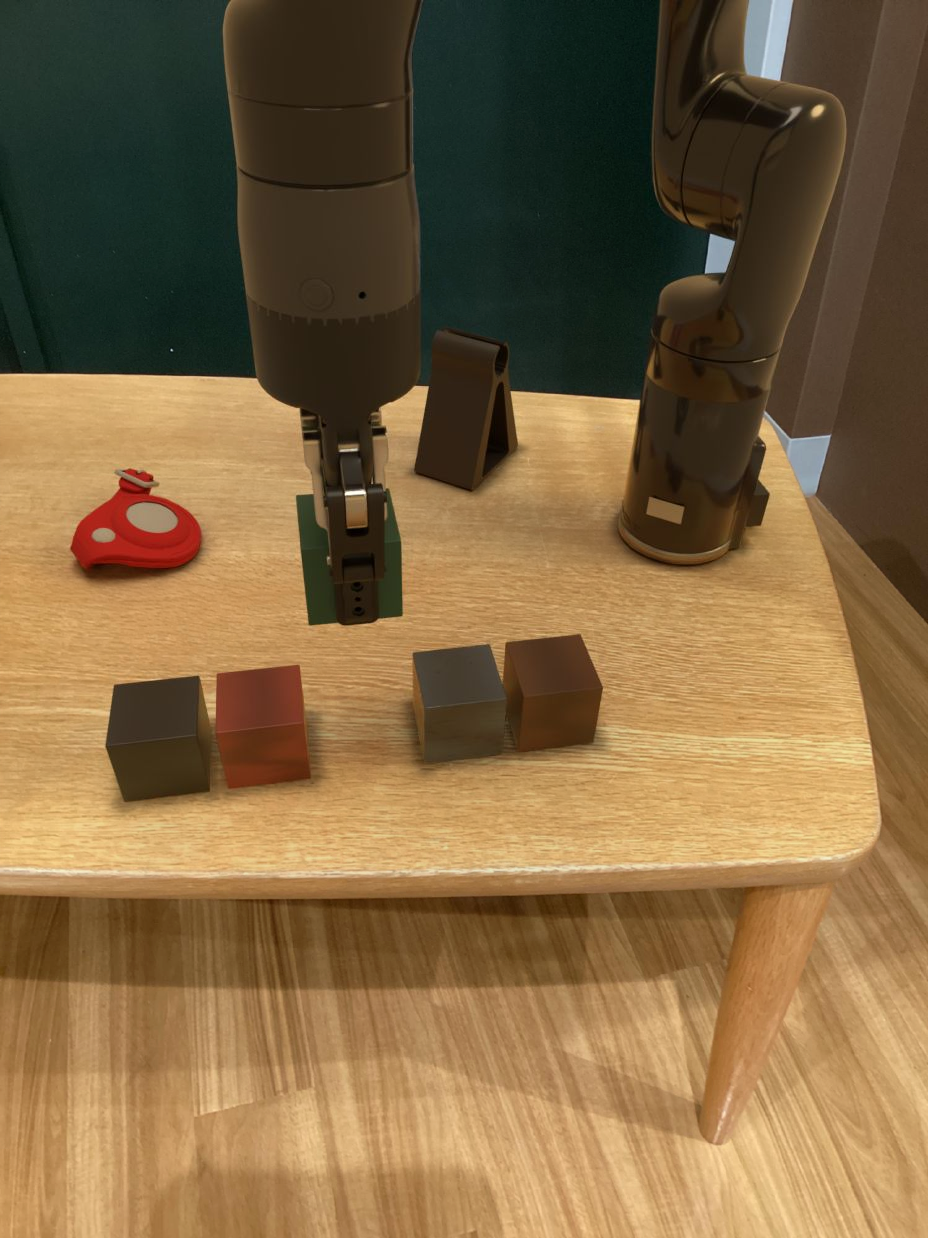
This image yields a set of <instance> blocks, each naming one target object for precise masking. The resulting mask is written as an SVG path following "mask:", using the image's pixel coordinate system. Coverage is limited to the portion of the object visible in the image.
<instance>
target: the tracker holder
mask: <svg viewBox="0 0 928 1238" xmlns="http://www.w3.org/2000/svg"><path fill="white" fill-rule="evenodd" d="M113 474H114V475H116V476H118V477H120V478H119V479H118V487H119V488H118V490H117V491H116V492H115V494H114V495H113V496H112V497H111V498H110V499H109V500H107V501H106V502H103V503H102V504H101V505H99V506H98V507H97V508H95V509H93V511H91V512H89V514H87V515H86V516H84V518H83V519H81V520H80V522H79V523H78V524H77V526H76V529H75V531H74V534H73V535H72V540H71V545H70V547H69V549H70V552H71V553H72V554H73V555H74V557H75V558H76V560H77V561H78V562H79V563H80V565H81V566H82V567H83V568H84V569H85V570H86V569H90V568H92V567H93V566H94V565H97V564H119V565H124V566H129V567H137V568H138V567H140V568H149V569H150V568H151V569H168V568H175V567H178V566H182V565H183V564H185V563H188V562H189V561H191V560H192V559H193V558H194V557H195V556H196V554H197V553H198V552H199V549H200V546H201V541H202V529H201V526H200V523H199V522H198V520H197V519H196V518H195V516H194V515H193V514H192V513H191V512H190V511H189V510H187V509H186V508H185V507H184V506H181V505H180V504H179V503H176V502H175V501H172V500H170V499H167V498H163V497H161V496H156V495H153V494H151V491H152V488H158V487H159V486H160V482H159V481H157V480H155V478H154V477H155V476H154V475H153V474H151V473H148V472H147V471H146V470H145V469H134V468H121V469H120V468H119V469H118V468H117V469H116V468H115V469H114V473H113Z"/></svg>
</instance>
